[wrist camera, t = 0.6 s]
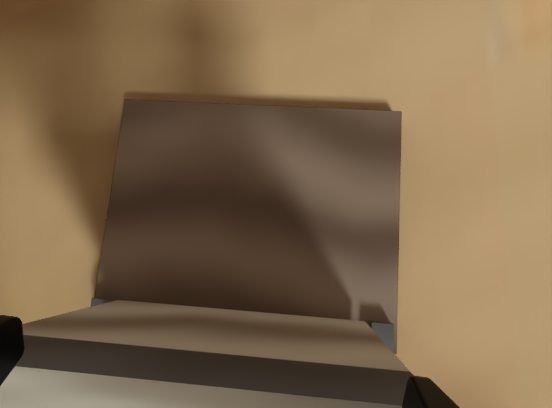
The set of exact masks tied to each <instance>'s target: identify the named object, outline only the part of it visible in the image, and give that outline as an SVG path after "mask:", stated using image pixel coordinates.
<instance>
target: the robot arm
mask: <svg viewBox="0 0 552 408" xmlns="http://www.w3.org/2000/svg"><path fill="white" fill-rule="evenodd" d="M24 349H25V344H24V335H23V326H22V321H21V320H20V318H18V317H13V316H6V315H0V386H1V385H2V383H3V382H4V381H5V379H6V378H7V377H8V375H9V374H10V373H11V371H12V370H13V368H14V367H15V366H16V364H17V363H18V362H19V360H20V359H21V357H22V355H23V353H24ZM402 408H460V407H459V406H458V405H456V404H455V403H454V402H453V401H452V400H451V399H450V398H449V397H448V396H447V395H446V394H445V393H444V392H443V391H442V390H441V389H440V388H439V387H438V386H437V385H436V384H435V383H434V382H433V381H432V380H431V379H429V378H427V377H420V376H413V375H412V376H410V377H409V378H408V380H407V384H406V389H405V393H404V398H403V403H402Z"/></svg>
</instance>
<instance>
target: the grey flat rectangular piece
mask: <svg viewBox="0 0 552 408" xmlns="http://www.w3.org/2000/svg"><path fill="white" fill-rule="evenodd" d="M22 326H23V335H24V344H25V349H24V353H23V355H22V357H21V359H20V360H19V362H18V363H17V364H16V366H15V367H14V368H13V370H12V371H11V373H10V374H9V375H8V377H7V378H6V379H5V381H4V382H3V383H2V385H1V386H0V408H402V403H403V398H404V393H405V389H406V384H407V380H408V378H409V377H410V376H412V375H413V374H412V373H411V372H410V371H409V370H408V369H407V368H406V367H405V365H404V364H403V363H402V362H401V361H400V360H399V359H398V358H397V357H396V355H395V354H394V353H393V352H392V351H391V350H390V349H389V348H388V347H387V345H386V344H385V343H384V342H383V341H382V340H381V339H380V338H379V337H378V335H377V334H376V333H375V332H374V331H373V330H372V329H371V328H370V327H369V325H368V324H367V323H366V322H365V321H357V320H345V319H334V318H322V317H310V316H299V315H287V314H276V313H264V312H252V311H241V310H229V309H218V308H206V307H194V306H183V305H171V304H160V303H148V302H136V301H125V300H116V301H112V302H108V303H104V304H100V305H96V306H92V307H88V308H84V309H80V310H77V311H73V312H69V313H65V314H61V315H57V316H53V317H49V318H45V319H41V320H37V321H33V322H30V323H26V324H22ZM413 376H414V375H413Z"/></svg>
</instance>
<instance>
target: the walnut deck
mask: <svg viewBox="0 0 552 408" xmlns="http://www.w3.org/2000/svg"><path fill="white" fill-rule="evenodd" d="M401 117H402V111H380V110H358V109H335V108H312V107H289V106H267V105H244V104H221V103H198V102H176V101H153V100H130V99H125V102H124V108H123V115H122V121H121V128H120V134H119V141H118V147H117V154H116V160H115V167H114V173H113V180H112V186H111V193H110V199H109V206H108V212H107V219H106V225H105V232H104V238H103V245H102V251H101V258H100V264H99V271H98V277H97V284H96V291H95V297H94V298H92V302H91V307H92V306H96V305H100V304H104V303H108V302H112V301H116V300H125V301H136V302H148V303H160V304H171V305H183V306H194V307H206V308H218V309H229V310H241V311H252V312H264V313H276V314H287V315H299V316H310V317H322V318H334V319H345V320H357V321H365V322H366V323H367V324H368V325H369V327H370V328H371V329H372V330H373V331H374V332H375V333H376V334H377V335H378V337H379V338H380V339H381V340H382V341H383V342H384V343H385V344H386V345H387V347H388V348H389V349H390V350H391V351H392V352H393V353H394V354H396V351H397V304H398V257H399V211H400V164H401Z"/></svg>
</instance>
